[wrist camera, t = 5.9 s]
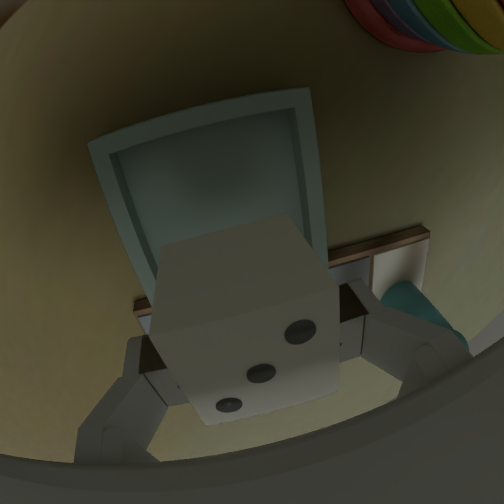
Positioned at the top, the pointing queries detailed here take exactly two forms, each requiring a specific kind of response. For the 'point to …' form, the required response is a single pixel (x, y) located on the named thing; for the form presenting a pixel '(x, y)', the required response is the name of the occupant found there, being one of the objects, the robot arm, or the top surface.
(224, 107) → the tray
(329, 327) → the die
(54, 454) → the top surface
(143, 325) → the board
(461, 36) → the stacking bear
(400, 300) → the pawn
